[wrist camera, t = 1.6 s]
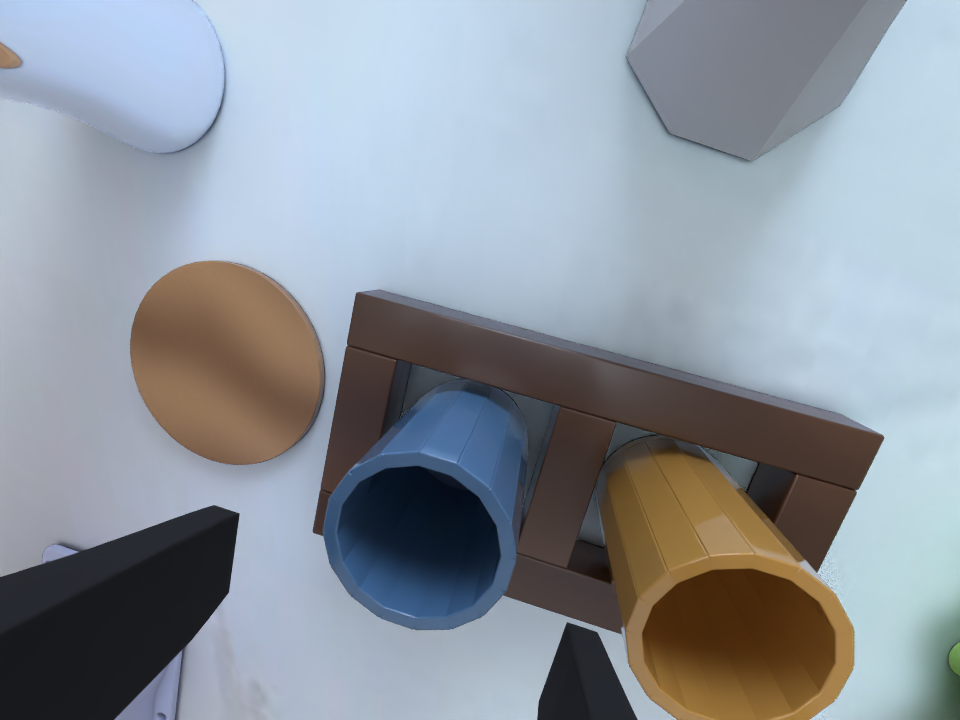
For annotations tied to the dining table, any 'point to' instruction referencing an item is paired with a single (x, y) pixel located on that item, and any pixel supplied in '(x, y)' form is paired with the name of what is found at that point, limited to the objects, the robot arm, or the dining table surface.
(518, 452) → the blue cup
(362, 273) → the dining table surface
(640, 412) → the cup holder
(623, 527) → the ochre cup
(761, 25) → the flask
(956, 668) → the teapot
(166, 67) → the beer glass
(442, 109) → the dining table surface
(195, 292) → the coaster
